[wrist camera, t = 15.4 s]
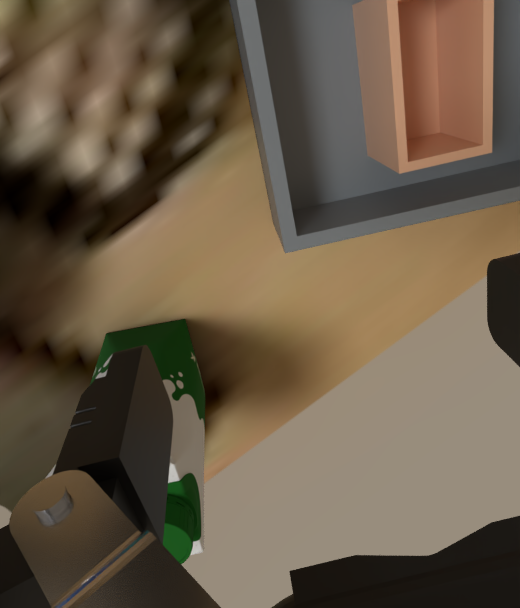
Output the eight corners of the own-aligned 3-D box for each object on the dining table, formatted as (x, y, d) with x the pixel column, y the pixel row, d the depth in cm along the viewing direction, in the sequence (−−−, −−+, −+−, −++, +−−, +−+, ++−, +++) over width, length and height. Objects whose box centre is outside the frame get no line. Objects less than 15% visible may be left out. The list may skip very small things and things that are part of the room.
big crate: (222, -38, 32) (224, -63, 25) (552, -114, 31) (637, -158, 25) (273, 223, 40) (285, 253, 34) (536, 164, 40) (598, 182, 33)
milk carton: (213, 387, 46) (215, 589, 28) (120, 405, 46) (62, 618, 28) (193, 307, 42) (179, 482, 25) (90, 326, 42) (3, 516, 24)
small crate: (352, 4, 33) (385, -10, 26) (439, -16, 32) (494, -35, 26) (367, 155, 37) (399, 173, 31) (444, 137, 37) (492, 152, 31)
